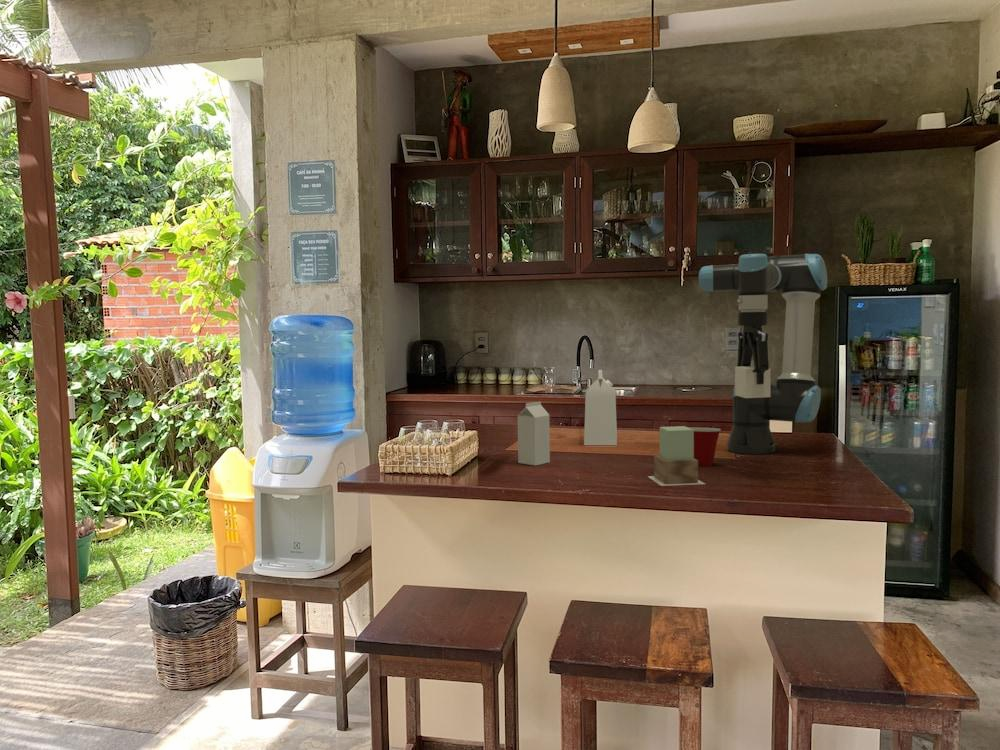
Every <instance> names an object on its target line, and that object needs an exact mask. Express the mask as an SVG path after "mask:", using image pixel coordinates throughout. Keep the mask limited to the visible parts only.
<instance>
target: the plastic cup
mask: <svg viewBox="0 0 1000 750" xmlns="http://www.w3.org/2000/svg"><path fill="white" fill-rule="evenodd" d="M689 428H690V429H693V430H694V459H696V460H698V467H711V466H714V464H713V463H714V458H715V454H716V450H717V443H718V439H719V437H720V432H721V430H722V429H721V428H717V427H694V426H693V427H689Z"/></svg>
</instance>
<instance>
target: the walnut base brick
mask: <svg viewBox="0 0 1000 750" xmlns="http://www.w3.org/2000/svg"><path fill="white" fill-rule="evenodd" d="M653 458H654V460H653V461H654V463H653V464H654V465H653V470H654V471H653V472H654V473H653V476H654V477H655V478H656V479H658V480H659V481H661V482H662V483H664V484H684V483H698V480H699V466H698V460H696V459H694V460H677V461H667V460H666V459H664V458H662V457H660V454H658V455H657V454H656V455H654V457H653Z"/></svg>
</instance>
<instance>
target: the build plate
mask: <svg viewBox="0 0 1000 750" xmlns="http://www.w3.org/2000/svg"><path fill="white" fill-rule="evenodd" d="M647 478H649V479H650V480H652V481H653V482H655V483H656V484H657V485H659V486H661V487H667V486H668V487H669V486H671V487H673V486H688V485H690V486H691V485H706V483H705V482H703V481H701V480H700V479H698V483H684V484H664V483H662V482H661V481H659V480H658V479H656V478H655V477H654V475H650V476H647Z"/></svg>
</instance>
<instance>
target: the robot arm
mask: <svg viewBox="0 0 1000 750" xmlns="http://www.w3.org/2000/svg"><path fill="white" fill-rule="evenodd" d="M827 271H828V270H827V267H826V262H825V260H824V258H823V257H822V256H821V255H820V254H818V253H800V254H799V253H798V254H789V255H788V254H786V255H771V256H768V255H767V254H765V253H747V254H741V255H740V256H739V258H738V263H735V264H734V263H733V264H731V263H730V264H718V265H717V264H716V265H713V264H711V265H706V266H702V267H701V268H700V269H699V272H698V286H699V287H700V289H701V290H702V291H703V292H711V293H712V292H728V291H729V292H730V291H738V299H737V301H736V302H737V303H738V310H739V311H740V312H738V315H737V316H738V317H737V319H738V322H737V323H738V326H739V327H743V330H742V331H739V332H738V333H737V336H738V338H737V339H738V344H737V345H738V348H737V366H736V367H742V366H752V361H753V366H754V367H755V370H753V396H754V397H755V396H764V372H765V371H766V370H768V369H769V368H770V366H769V350H768V349H769V347H768V346H769V345H768V342H769V341H768V339H769V334H768V332H767V333H766V332H765V333H764V332H763V326H766V325H768V312H767V311H766V310H768V301H769V300H768V292H781V296H782V298H783V299H784V300H785V301H786V303H785V305H786V306H785V318H784V319H785V322H784V335H783V336H784V338H783V354H782V372H781V375H779V376H778V377H777V378H776V384H772V383H771V384H770V397H762V398H743V397H740V396H736V395H735V385H734V386H733V388H732V389H733V390H732V392H733V393H732V429H731V432H730V434H729V436H728V439H727V444H726V450H727V449H728V450H727V451H729V450H730V451H729V452H731V453H737V454H745V455H749V454H750V455H762V454H763V455H764V454H765V455H766V454H772V453H774V452H776V443H775V439H774V437H773V434H772V431H771V428H770V427H771V425H770V422H771V421H778V422H779V421H780V422H791V423H792V422H793V423H794V422H795V423H810V422H812V421H814V420H815V419H816V416H817V415H818V412H819V408H820V406H821V396H822V390H821V388H820V386H818V385H816V380H815V379H814V378H813V377H812V374H811V372H812V356H813V354H812V353H813V343H814V341H813V340H814V323H815V322H814V321H815V308H816V306H815V305H816V304H815V303H816V301H817V300H818V299H819V298H820V297H821V294H822V293H821V291H824V290H826V289H827V288H828V272H827ZM752 359H753V360H752Z"/></svg>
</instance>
